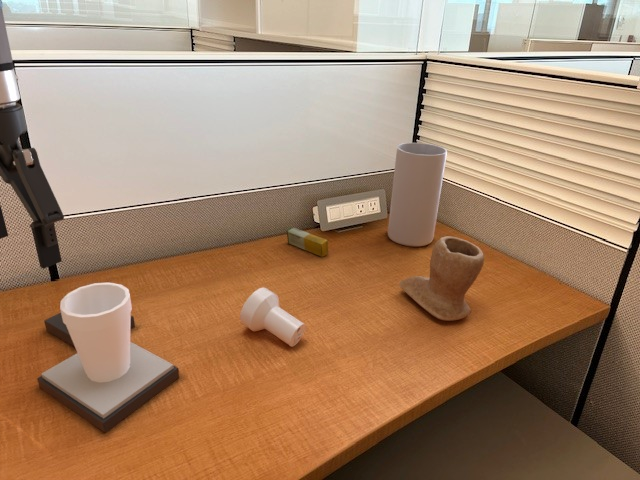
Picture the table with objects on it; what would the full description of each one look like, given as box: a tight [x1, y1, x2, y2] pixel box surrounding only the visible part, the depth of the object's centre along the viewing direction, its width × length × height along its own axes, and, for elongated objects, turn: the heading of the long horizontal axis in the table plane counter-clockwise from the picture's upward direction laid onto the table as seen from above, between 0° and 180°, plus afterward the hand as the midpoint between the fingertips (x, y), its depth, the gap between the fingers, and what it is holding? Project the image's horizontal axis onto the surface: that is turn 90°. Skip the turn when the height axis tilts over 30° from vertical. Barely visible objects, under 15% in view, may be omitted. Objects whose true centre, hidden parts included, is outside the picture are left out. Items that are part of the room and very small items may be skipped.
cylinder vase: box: [387, 142, 448, 248], centre depth 127 cm, size 12×12×25 cm
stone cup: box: [398, 235, 485, 322], centre depth 99 cm, size 15×12×15 cm
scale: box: [36, 341, 180, 434], centre depth 76 cm, size 16×14×3 cm
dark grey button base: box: [44, 312, 136, 348], centre depth 88 cm, size 12×10×4 cm
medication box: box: [286, 226, 329, 258], centre depth 122 cm, size 12×3×4 cm, turn 50°
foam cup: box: [59, 281, 133, 383], centre depth 73 cm, size 10×9×13 cm
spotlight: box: [239, 286, 307, 348], centre depth 89 cm, size 8×11×8 cm
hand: (23, 251), depth 71 cm, fingers open, 13 cm apart
